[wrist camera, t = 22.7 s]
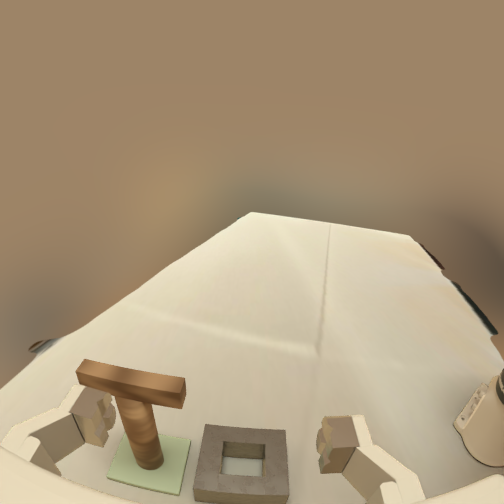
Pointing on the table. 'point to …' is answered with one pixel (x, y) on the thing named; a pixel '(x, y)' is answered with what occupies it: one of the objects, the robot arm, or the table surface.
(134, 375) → the chuck key
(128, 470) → the key mat
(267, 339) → the table surface
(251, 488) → the block
